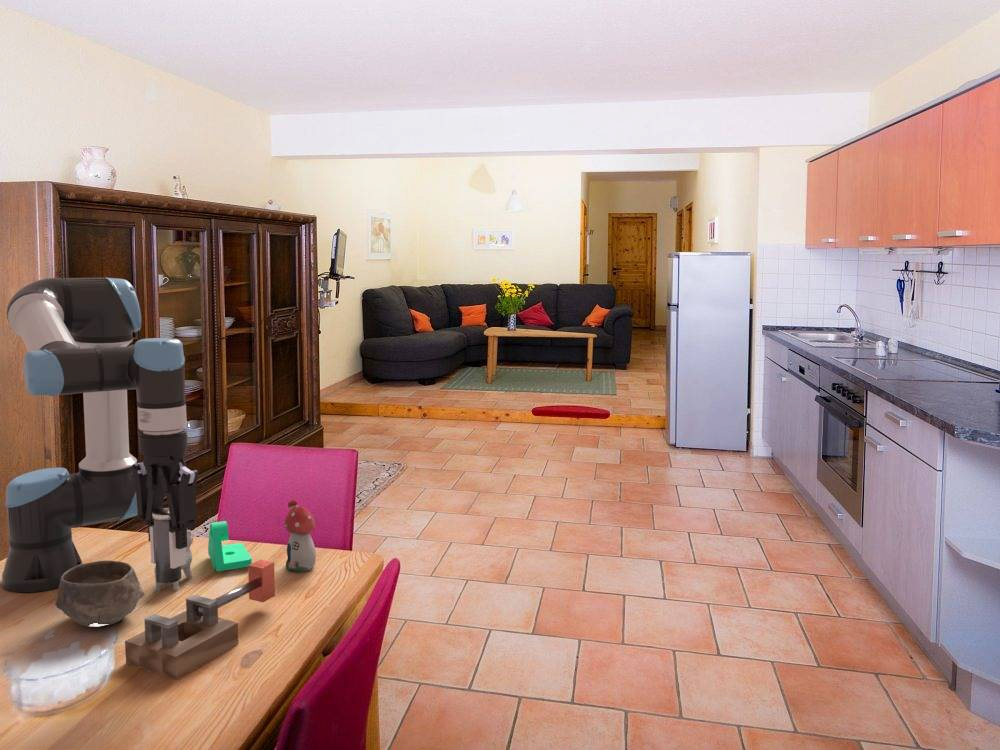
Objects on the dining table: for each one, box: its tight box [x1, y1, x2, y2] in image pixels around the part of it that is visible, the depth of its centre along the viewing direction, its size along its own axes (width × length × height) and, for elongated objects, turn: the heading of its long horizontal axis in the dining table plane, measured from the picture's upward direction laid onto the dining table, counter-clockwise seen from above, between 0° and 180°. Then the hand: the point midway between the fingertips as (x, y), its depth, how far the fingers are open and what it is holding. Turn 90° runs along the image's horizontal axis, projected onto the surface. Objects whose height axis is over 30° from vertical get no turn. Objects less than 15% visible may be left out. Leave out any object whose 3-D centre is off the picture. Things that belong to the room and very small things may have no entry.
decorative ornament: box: [284, 499, 317, 574], centre depth 178 cm, size 9×6×15 cm
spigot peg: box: [152, 507, 182, 584], centre depth 135 cm, size 4×4×12 cm
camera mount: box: [207, 520, 253, 572], centre depth 180 cm, size 12×8×10 cm, turn 29°
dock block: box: [124, 594, 239, 680], centre depth 138 cm, size 12×14×8 cm
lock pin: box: [196, 559, 276, 617], centre depth 149 cm, size 4×18×7 cm, turn 155°
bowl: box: [54, 560, 145, 627], centre depth 150 cm, size 14×15×10 cm
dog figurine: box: [154, 529, 194, 592], centre depth 169 cm, size 5×13×11 cm, turn 0°
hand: (168, 563), depth 135 cm, fingers closed on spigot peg, 4 cm apart
